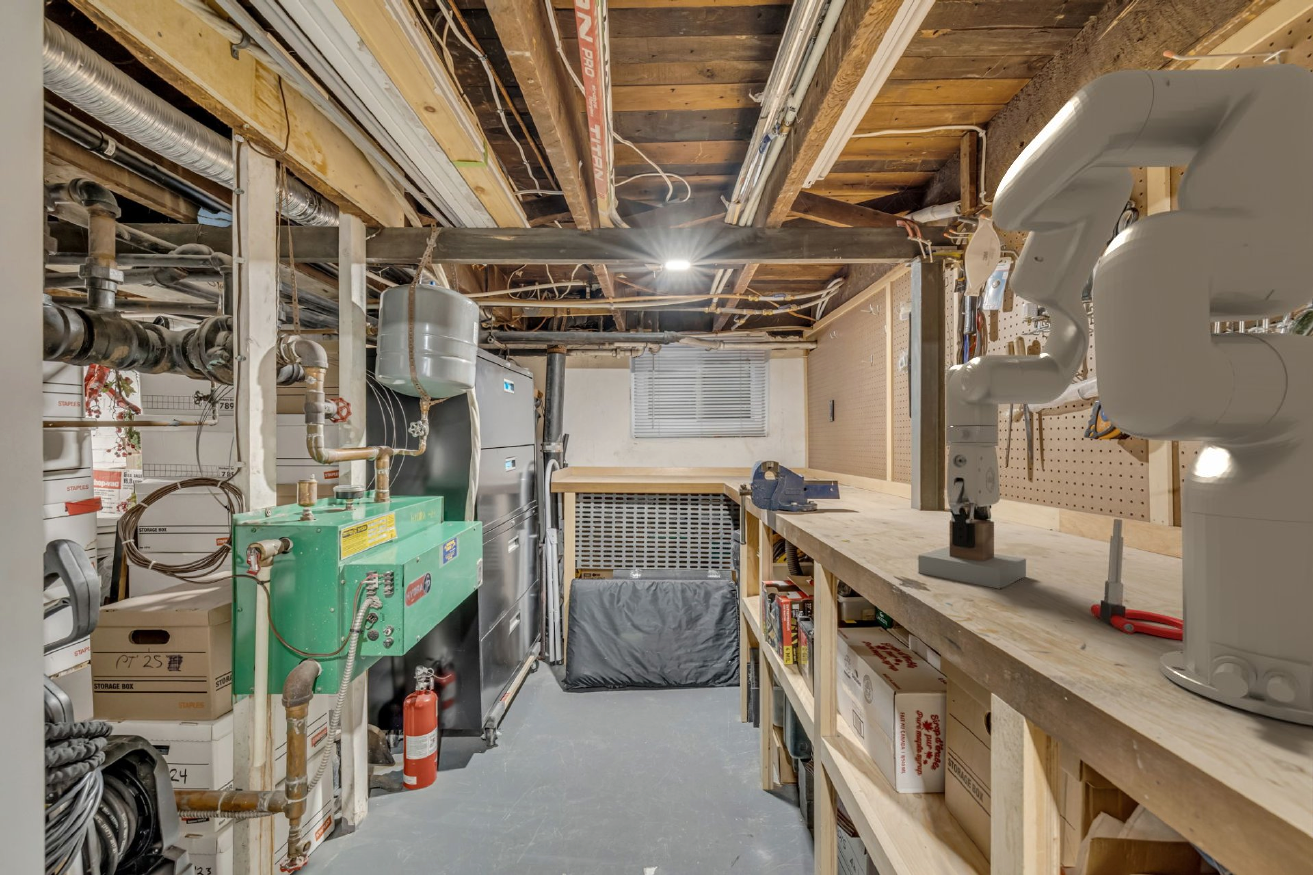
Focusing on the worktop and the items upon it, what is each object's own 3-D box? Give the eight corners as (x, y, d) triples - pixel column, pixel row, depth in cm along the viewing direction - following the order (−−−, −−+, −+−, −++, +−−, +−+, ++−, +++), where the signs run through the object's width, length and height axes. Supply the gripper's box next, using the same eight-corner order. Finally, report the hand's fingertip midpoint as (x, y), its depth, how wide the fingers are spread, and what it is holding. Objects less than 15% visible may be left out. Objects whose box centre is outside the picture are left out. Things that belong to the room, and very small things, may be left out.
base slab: (999, 589, 77) (999, 569, 77) (918, 572, 86) (918, 555, 86) (1025, 576, 84) (1025, 558, 84) (948, 563, 94) (948, 546, 94)
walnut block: (982, 561, 82) (982, 524, 82) (949, 556, 86) (949, 520, 86) (994, 557, 85) (994, 521, 85) (961, 552, 89) (961, 518, 89)
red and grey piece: (1172, 623, 64) (1085, 612, 66) (1178, 521, 64) (1090, 514, 66) (1227, 649, 56) (1125, 636, 58) (1234, 532, 56) (1132, 524, 58)
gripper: (976, 436, 77) (976, 555, 77) (1015, 438, 88) (1015, 542, 88) (925, 436, 83) (925, 547, 83) (967, 438, 94) (967, 536, 94)
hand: (971, 543), depth 85 cm, fingers open, 6 cm apart
